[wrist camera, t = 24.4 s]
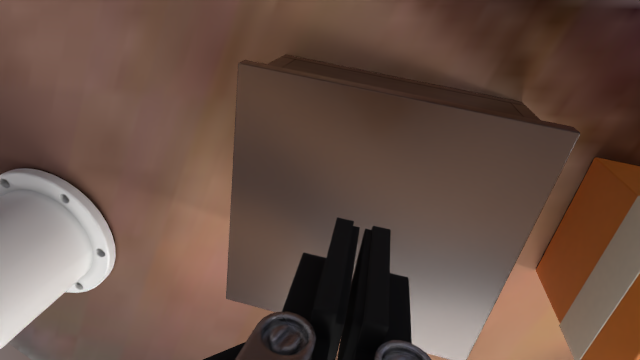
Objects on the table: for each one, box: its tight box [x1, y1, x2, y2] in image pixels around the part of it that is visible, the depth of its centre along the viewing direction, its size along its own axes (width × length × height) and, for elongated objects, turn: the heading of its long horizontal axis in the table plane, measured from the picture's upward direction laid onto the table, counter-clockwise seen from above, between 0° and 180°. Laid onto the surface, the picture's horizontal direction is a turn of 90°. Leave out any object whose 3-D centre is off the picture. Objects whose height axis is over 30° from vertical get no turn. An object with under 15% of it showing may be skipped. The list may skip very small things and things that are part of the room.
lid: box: [226, 60, 580, 360], centre depth 21 cm, size 15×15×1 cm
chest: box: [267, 55, 540, 120], centre depth 25 cm, size 14×15×7 cm
